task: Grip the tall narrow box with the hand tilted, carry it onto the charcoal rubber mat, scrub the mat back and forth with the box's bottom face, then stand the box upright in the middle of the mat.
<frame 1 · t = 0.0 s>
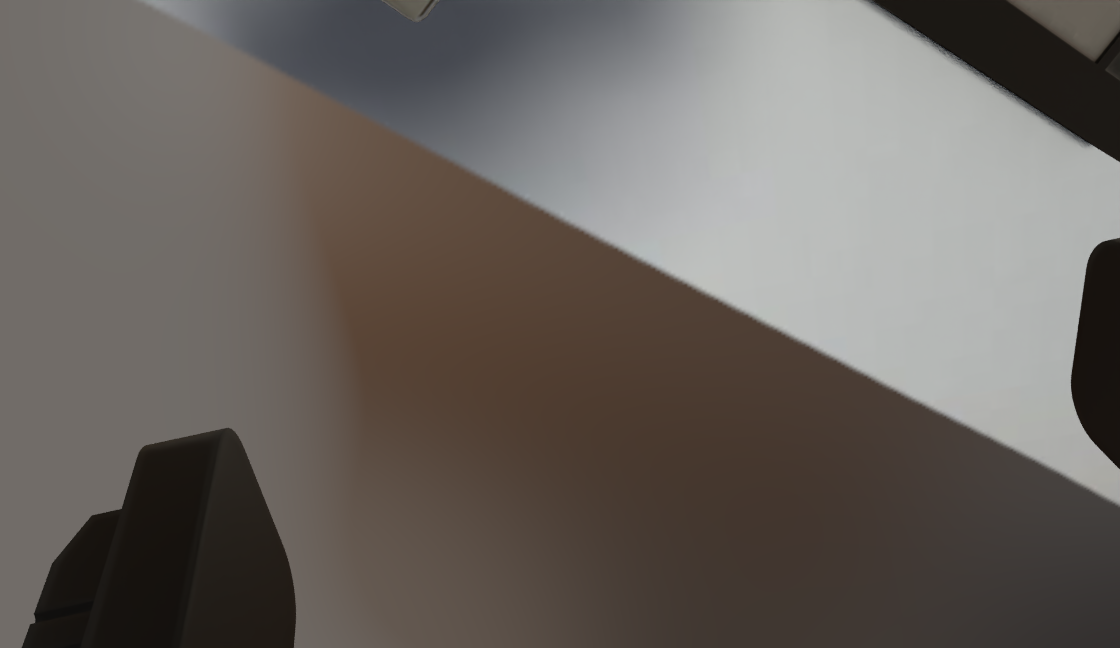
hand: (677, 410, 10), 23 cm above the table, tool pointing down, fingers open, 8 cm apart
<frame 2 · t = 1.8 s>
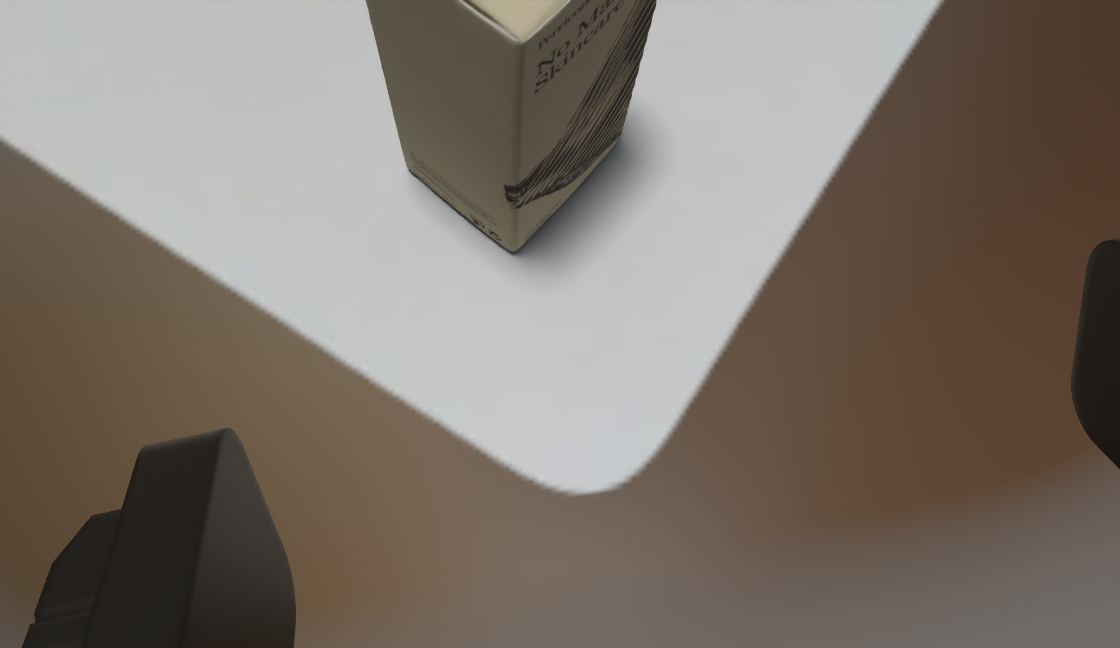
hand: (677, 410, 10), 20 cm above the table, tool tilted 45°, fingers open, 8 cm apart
box: (516, 151, 31), on the table
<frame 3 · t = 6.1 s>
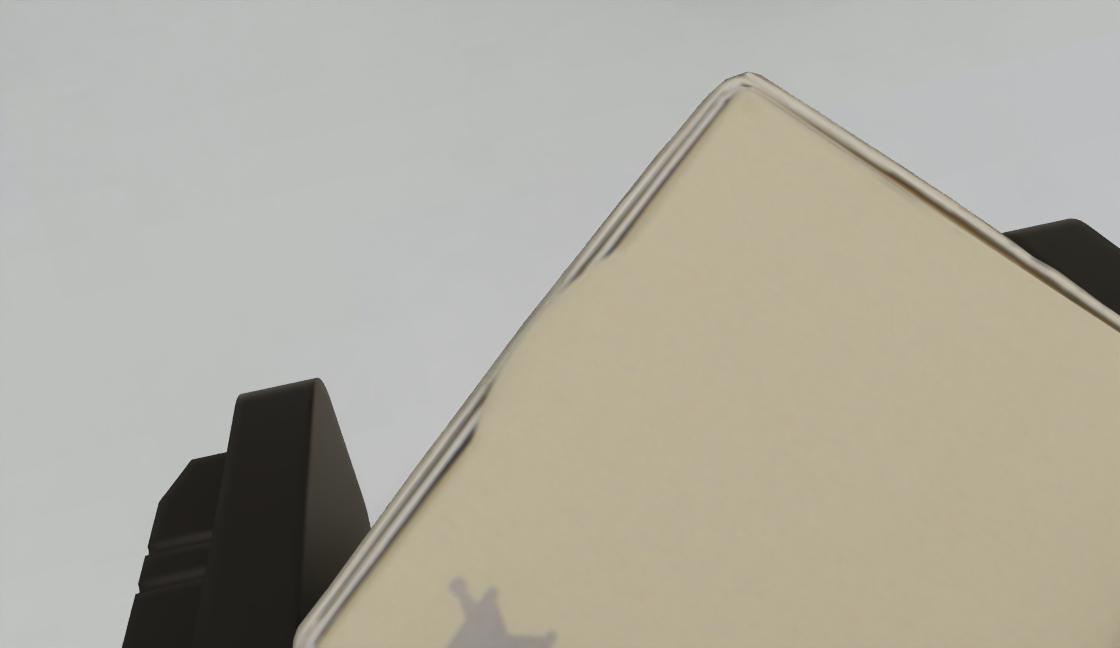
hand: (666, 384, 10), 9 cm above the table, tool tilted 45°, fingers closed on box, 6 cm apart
box: (632, 560, 19), on the table, touching gripper
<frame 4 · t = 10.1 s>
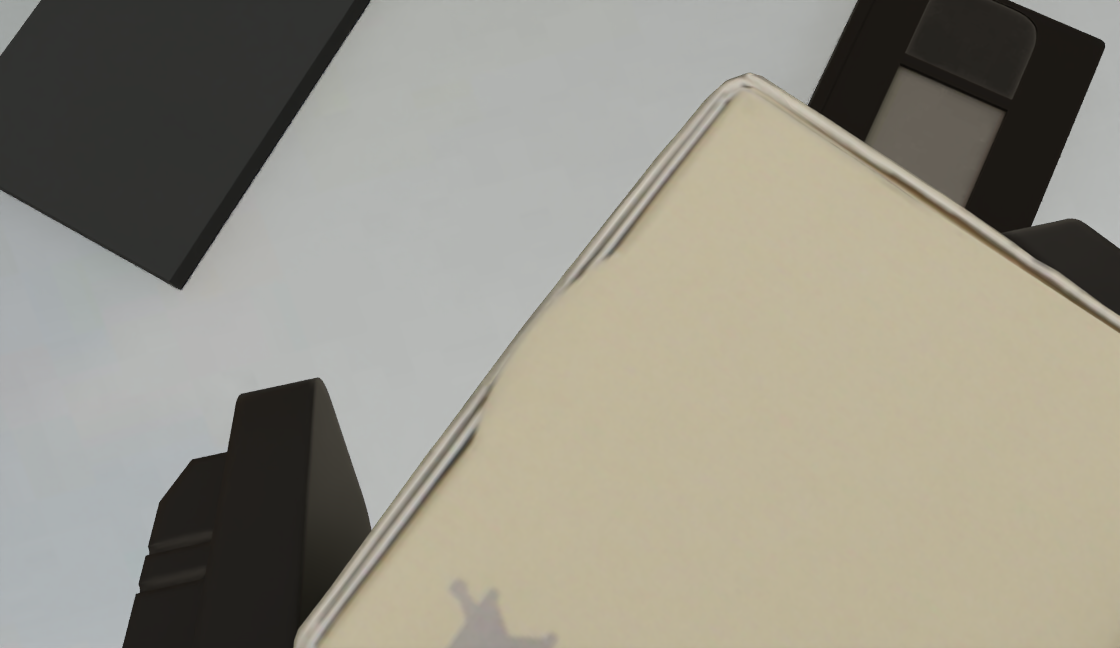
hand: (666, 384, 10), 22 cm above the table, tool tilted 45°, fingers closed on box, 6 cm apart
vhs tape: (887, 209, 34), on the table
box: (632, 561, 19), point 12 cm above the table, touching gripper
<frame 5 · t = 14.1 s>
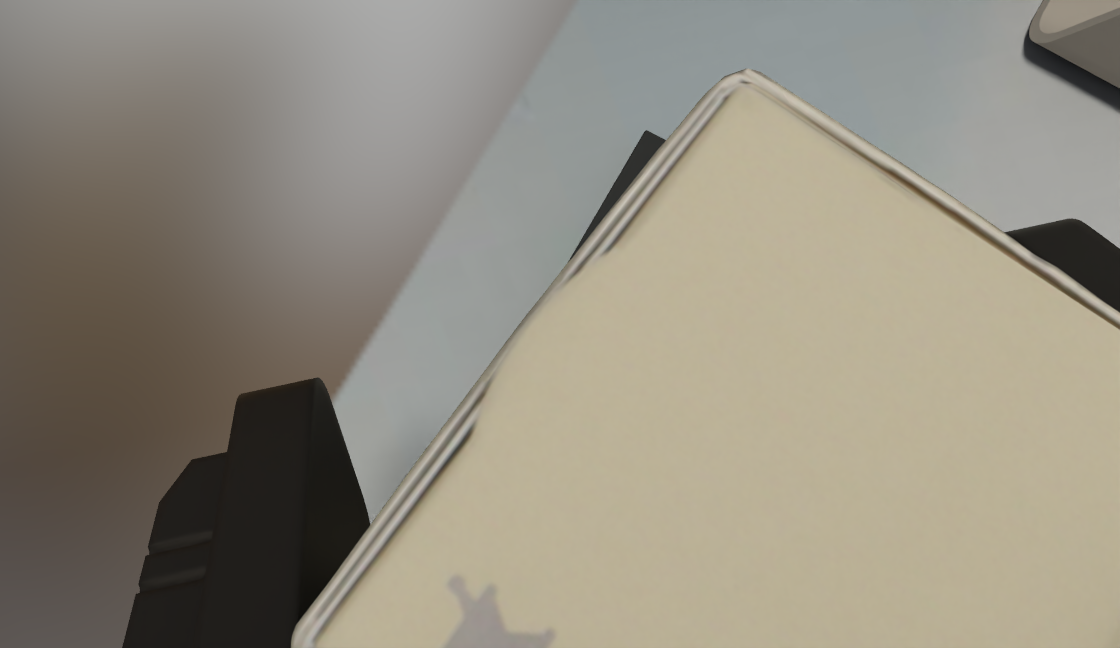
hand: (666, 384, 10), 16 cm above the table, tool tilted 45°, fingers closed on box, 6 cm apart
box: (632, 559, 19), point 7 cm above the table, touching gripper
scrub mat: (610, 557, 26), on the table
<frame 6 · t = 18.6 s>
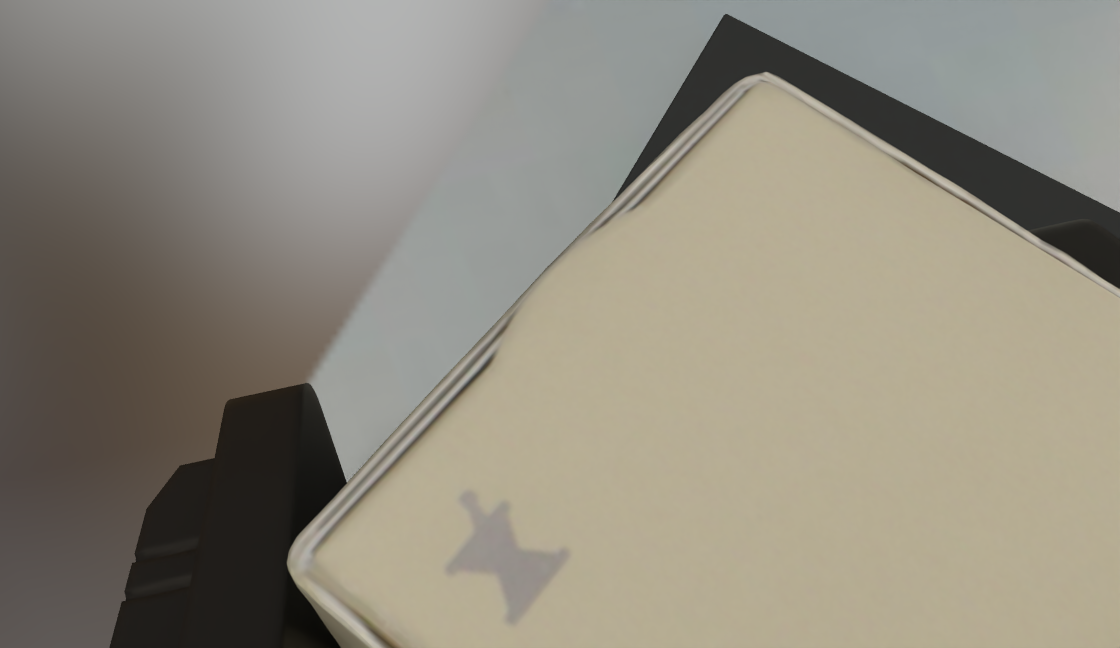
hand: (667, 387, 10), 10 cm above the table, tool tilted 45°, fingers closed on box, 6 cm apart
scrub mat: (681, 555, 20), on the table
when the fingers open (10 cm above the table, at t = 22.5 s): box stays where it is, resting on scrub mat.
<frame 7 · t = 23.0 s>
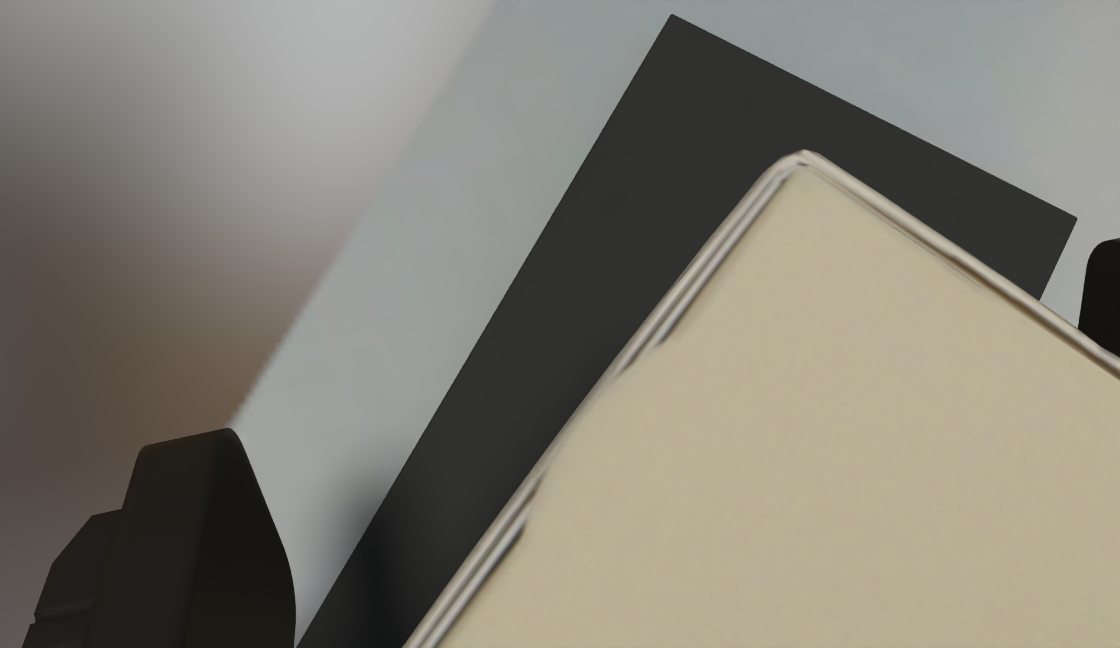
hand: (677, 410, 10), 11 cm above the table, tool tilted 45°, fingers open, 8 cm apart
box: (650, 596, 19), point 1 cm above the table, touching scrub mat
scrub mat: (629, 560, 20), on the table
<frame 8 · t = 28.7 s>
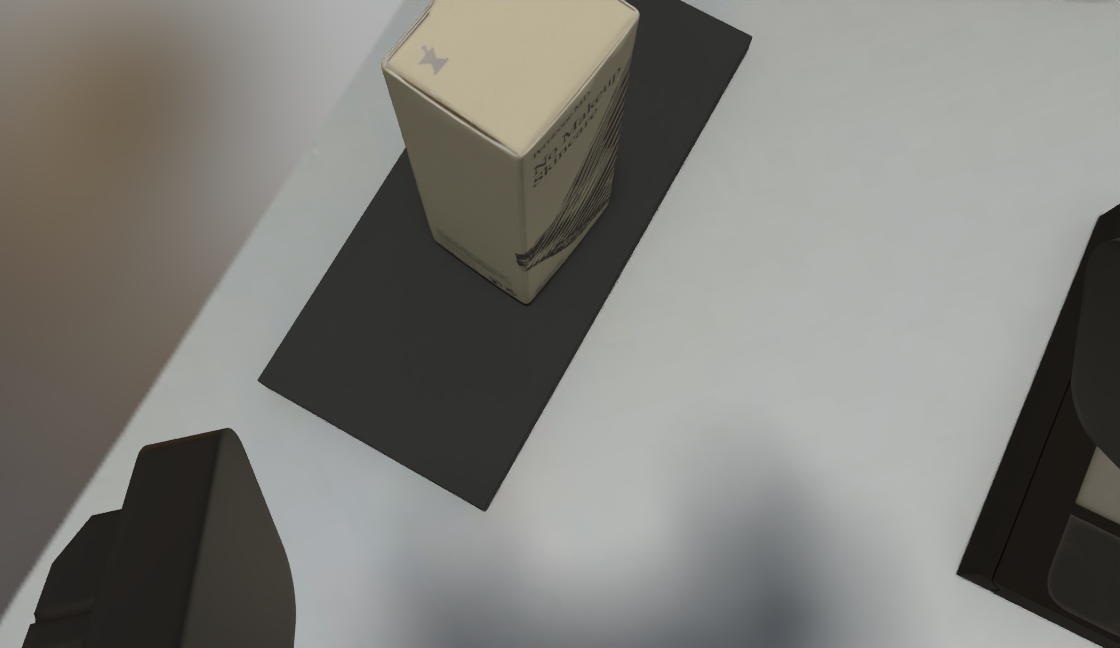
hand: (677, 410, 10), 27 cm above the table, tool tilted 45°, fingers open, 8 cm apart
box: (523, 219, 37), point 1 cm above the table, touching scrub mat
scrub mat: (516, 210, 38), on the table
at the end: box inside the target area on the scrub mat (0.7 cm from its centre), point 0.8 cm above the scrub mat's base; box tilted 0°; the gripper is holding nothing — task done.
